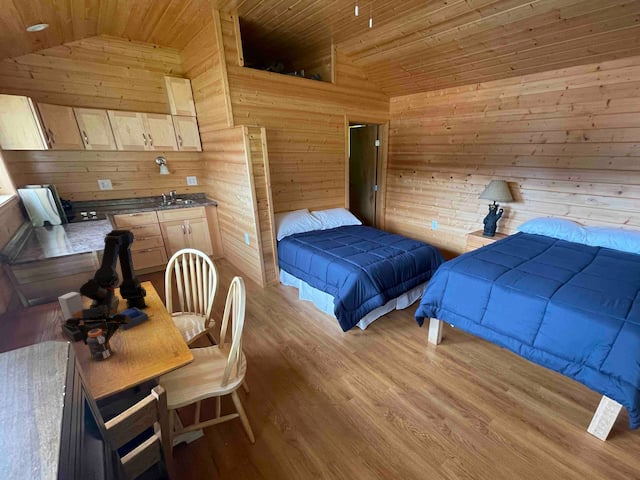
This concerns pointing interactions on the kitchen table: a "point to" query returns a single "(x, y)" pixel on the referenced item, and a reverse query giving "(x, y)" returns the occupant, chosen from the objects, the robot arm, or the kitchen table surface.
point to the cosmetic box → (71, 305)
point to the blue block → (130, 313)
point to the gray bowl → (113, 304)
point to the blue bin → (135, 319)
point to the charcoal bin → (75, 332)
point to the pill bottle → (98, 344)
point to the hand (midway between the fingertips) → (96, 343)
